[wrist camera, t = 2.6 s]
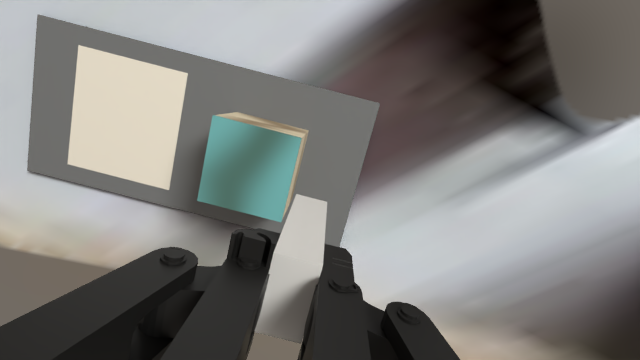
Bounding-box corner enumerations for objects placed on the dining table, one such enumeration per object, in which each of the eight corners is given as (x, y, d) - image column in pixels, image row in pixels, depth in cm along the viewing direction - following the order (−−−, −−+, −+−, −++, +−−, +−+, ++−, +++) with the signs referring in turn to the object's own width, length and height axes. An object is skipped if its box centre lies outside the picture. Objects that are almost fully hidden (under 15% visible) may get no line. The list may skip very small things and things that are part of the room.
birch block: (308, 130, 30) (301, 138, 24) (292, 198, 31) (281, 222, 25) (237, 112, 30) (212, 115, 24) (223, 181, 31) (197, 200, 25)
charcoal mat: (379, 103, 29) (380, 103, 29) (338, 247, 32) (338, 250, 32) (43, 16, 29) (37, 14, 29) (33, 169, 32) (26, 170, 32)
